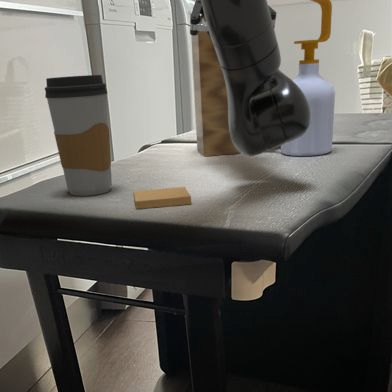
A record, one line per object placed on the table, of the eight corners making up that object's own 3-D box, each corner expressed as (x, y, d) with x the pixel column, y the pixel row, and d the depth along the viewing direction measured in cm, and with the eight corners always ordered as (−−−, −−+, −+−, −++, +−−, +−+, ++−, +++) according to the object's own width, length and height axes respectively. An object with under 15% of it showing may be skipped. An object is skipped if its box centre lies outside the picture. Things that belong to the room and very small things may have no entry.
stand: (203, 156, 102) (196, 10, 91) (197, 150, 109) (190, 13, 98) (245, 153, 103) (243, 7, 92) (236, 147, 110) (233, 11, 99)
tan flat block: (136, 209, 69) (135, 201, 68) (134, 198, 74) (133, 191, 73) (191, 204, 69) (190, 196, 69) (185, 194, 75) (184, 186, 74)
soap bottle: (275, 150, 103) (277, -4, 91) (322, 147, 104) (330, -7, 92) (287, 158, 95) (290, -10, 83) (338, 154, 96) (349, -14, 84)
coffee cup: (90, 183, 85) (75, 75, 78) (130, 187, 81) (118, 73, 74) (49, 194, 79) (28, 79, 72) (90, 200, 75) (72, 77, 68)
